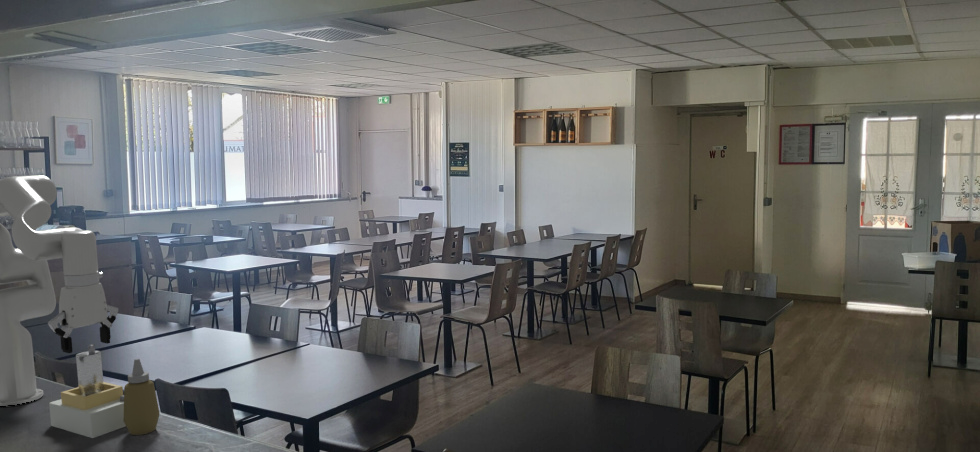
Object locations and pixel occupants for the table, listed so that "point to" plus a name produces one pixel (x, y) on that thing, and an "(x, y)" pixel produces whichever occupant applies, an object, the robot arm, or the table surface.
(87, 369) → the spout can
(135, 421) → the squeeze bottle
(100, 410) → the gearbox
